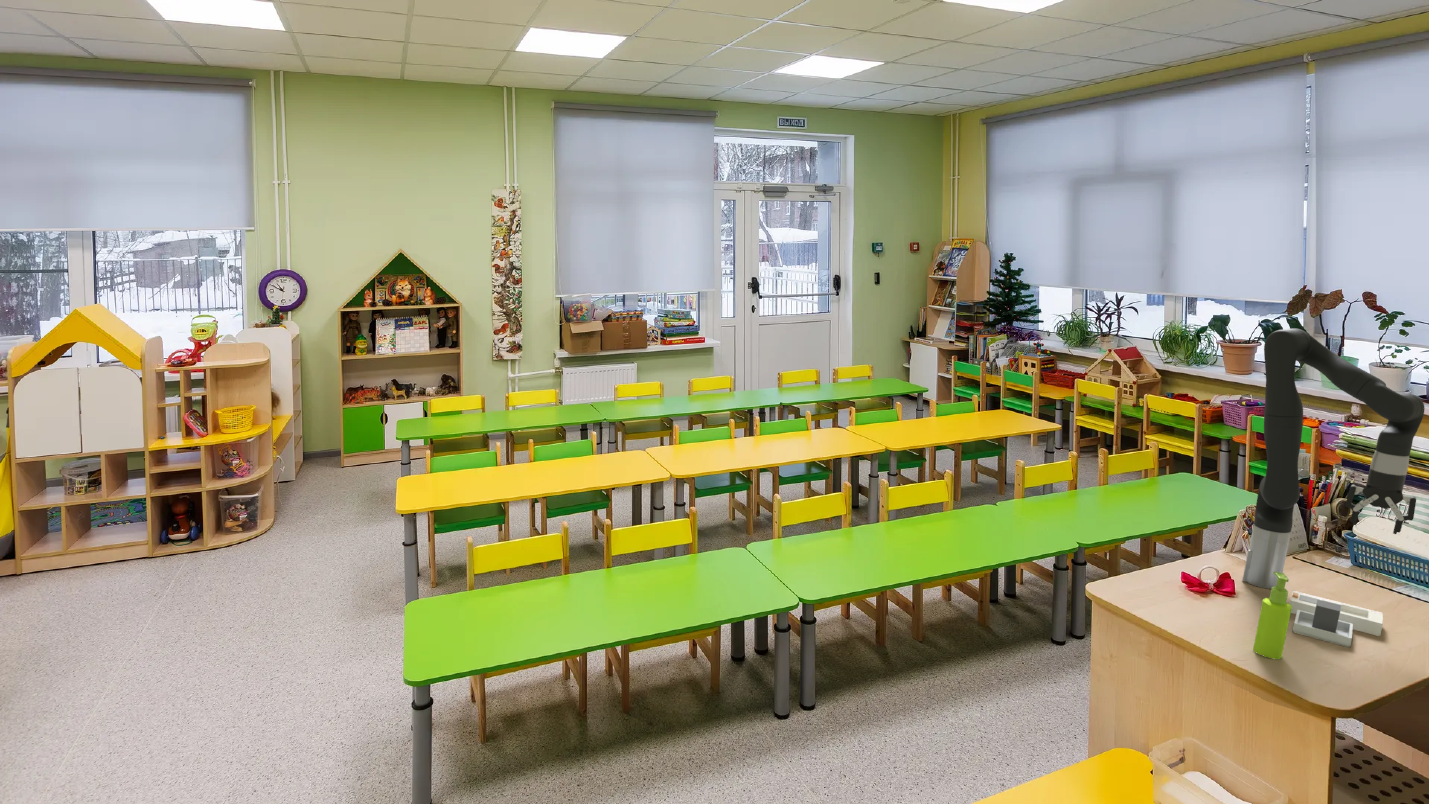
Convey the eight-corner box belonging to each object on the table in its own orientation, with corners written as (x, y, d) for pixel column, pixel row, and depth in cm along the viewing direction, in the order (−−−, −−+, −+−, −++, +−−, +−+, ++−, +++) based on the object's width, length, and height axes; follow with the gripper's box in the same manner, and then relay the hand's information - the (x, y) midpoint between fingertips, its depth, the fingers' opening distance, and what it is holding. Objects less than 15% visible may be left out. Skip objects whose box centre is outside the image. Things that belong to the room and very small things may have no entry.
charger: (1310, 630, 219) (1316, 605, 217) (1312, 621, 224) (1317, 597, 223) (1334, 636, 216) (1340, 611, 214) (1335, 627, 221) (1341, 602, 220)
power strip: (1287, 612, 231) (1290, 598, 230) (1290, 602, 238) (1293, 588, 237) (1379, 636, 219) (1383, 621, 218) (1380, 624, 226) (1383, 610, 225)
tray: (1292, 632, 219) (1294, 623, 218) (1295, 618, 227) (1297, 609, 227) (1349, 647, 211) (1351, 638, 211) (1350, 632, 220) (1352, 623, 220)
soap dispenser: (1276, 648, 209) (1291, 572, 205) (1284, 661, 202) (1300, 583, 198) (1249, 643, 211) (1264, 568, 207) (1256, 656, 204) (1271, 578, 200)
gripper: (1353, 466, 221) (1340, 525, 225) (1423, 478, 213) (1408, 539, 216) (1355, 461, 227) (1342, 518, 230) (1423, 473, 218) (1408, 532, 222)
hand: (1374, 528), depth 223 cm, fingers open, 8 cm apart
